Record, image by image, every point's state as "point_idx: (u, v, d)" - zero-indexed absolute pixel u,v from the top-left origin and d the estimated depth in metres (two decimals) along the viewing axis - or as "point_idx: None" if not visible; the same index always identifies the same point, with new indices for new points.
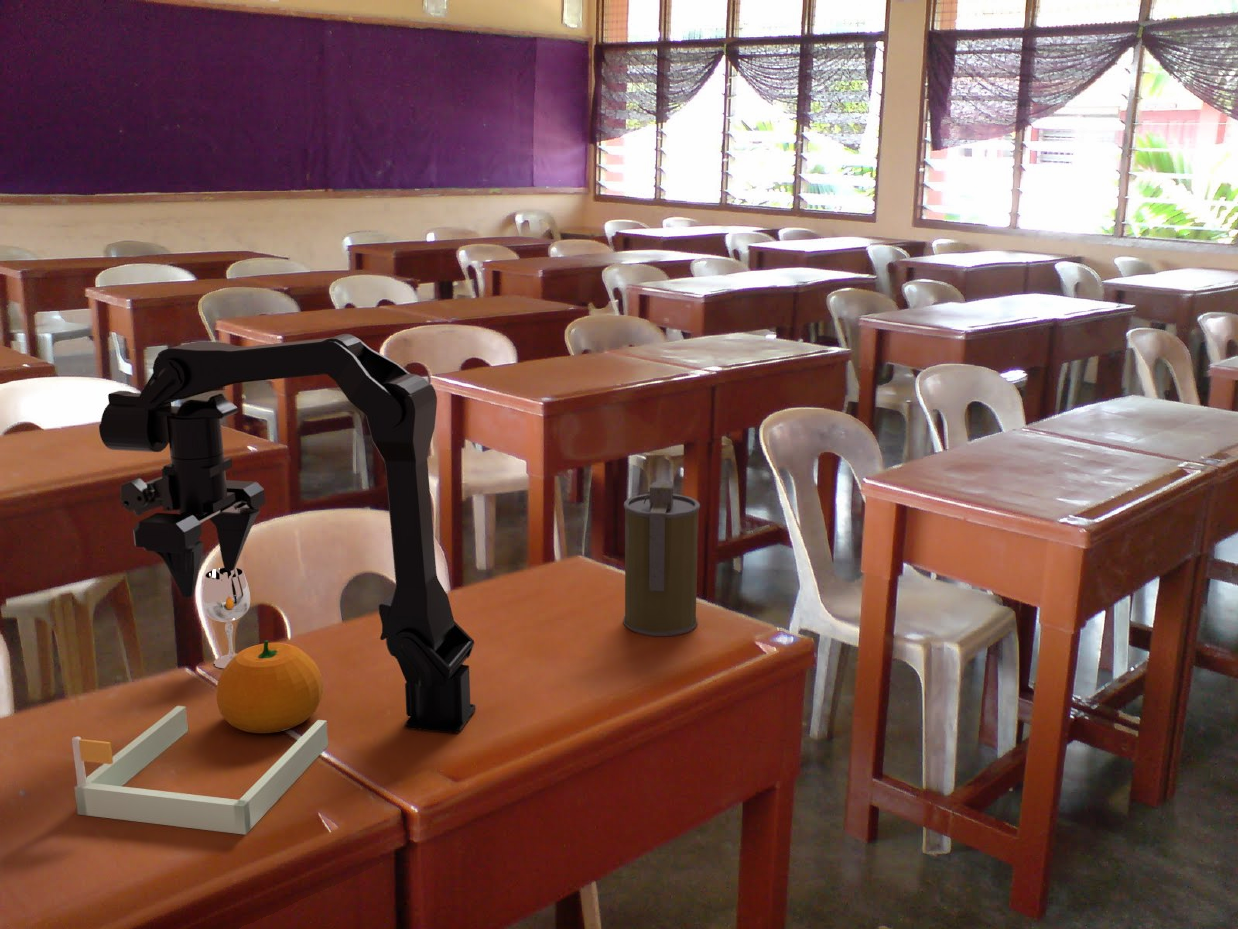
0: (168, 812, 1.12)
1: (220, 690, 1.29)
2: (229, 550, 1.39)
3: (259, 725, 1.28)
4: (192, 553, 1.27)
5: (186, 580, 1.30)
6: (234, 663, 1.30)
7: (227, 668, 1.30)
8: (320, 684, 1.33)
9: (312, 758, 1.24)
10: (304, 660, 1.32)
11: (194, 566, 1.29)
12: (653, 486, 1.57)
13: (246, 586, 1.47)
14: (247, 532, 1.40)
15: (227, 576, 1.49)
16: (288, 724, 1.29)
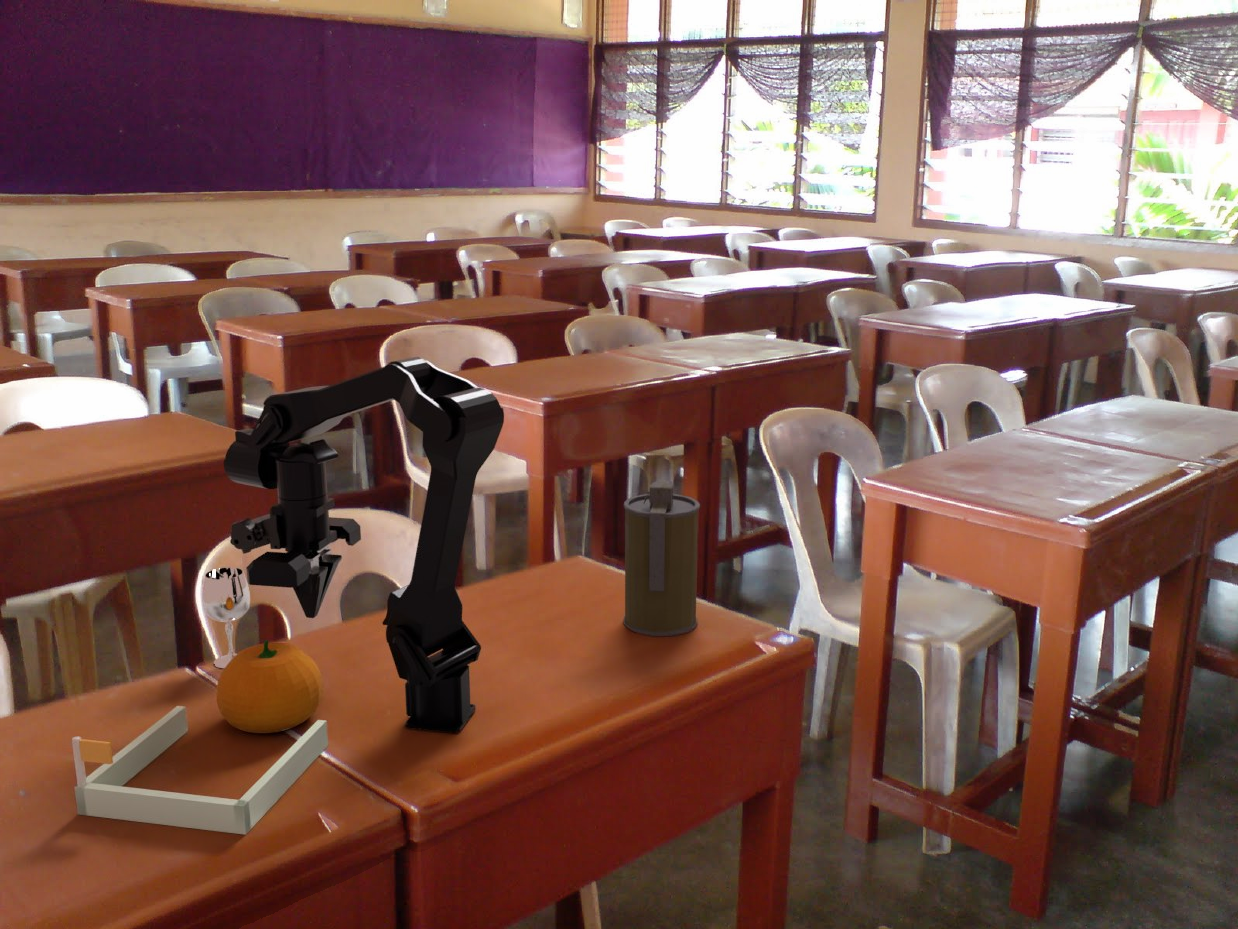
0: (168, 812, 1.12)
1: (220, 690, 1.29)
2: None
3: (259, 724, 1.28)
4: (318, 577, 1.38)
5: (311, 602, 1.40)
6: (234, 663, 1.30)
7: (227, 668, 1.30)
8: (320, 684, 1.33)
9: (312, 758, 1.24)
10: (304, 660, 1.32)
11: (319, 589, 1.39)
12: (653, 486, 1.57)
13: (246, 586, 1.47)
14: (330, 579, 1.42)
15: (227, 576, 1.49)
16: (288, 724, 1.29)
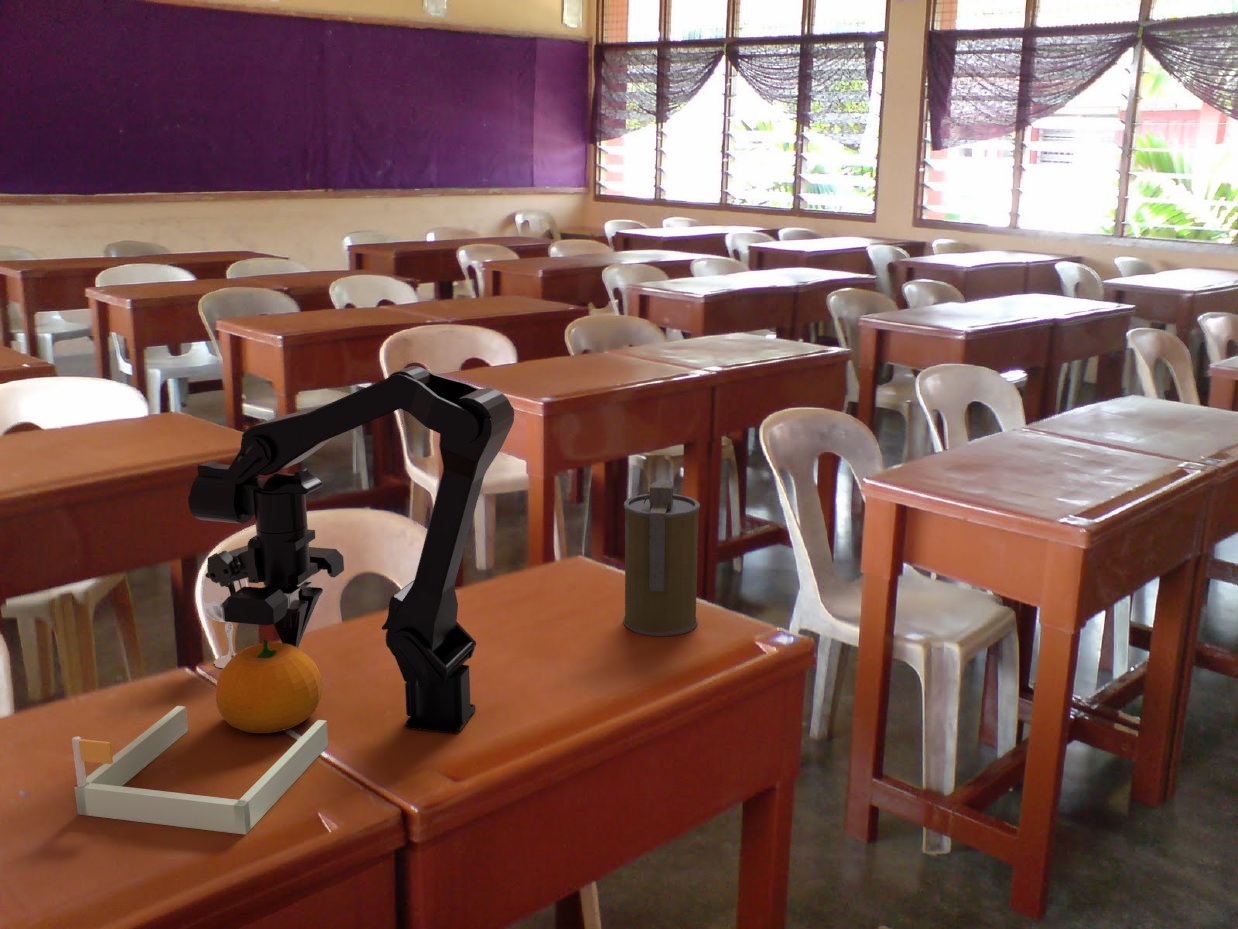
0: (168, 812, 1.12)
1: (220, 690, 1.29)
2: None
3: (259, 724, 1.28)
4: (298, 612, 1.33)
5: (290, 637, 1.36)
6: (233, 663, 1.30)
7: (226, 668, 1.30)
8: (319, 684, 1.33)
9: (312, 758, 1.24)
10: (303, 660, 1.32)
11: (299, 624, 1.35)
12: (653, 486, 1.57)
13: (246, 586, 1.47)
14: (310, 613, 1.37)
15: None
16: (288, 723, 1.29)
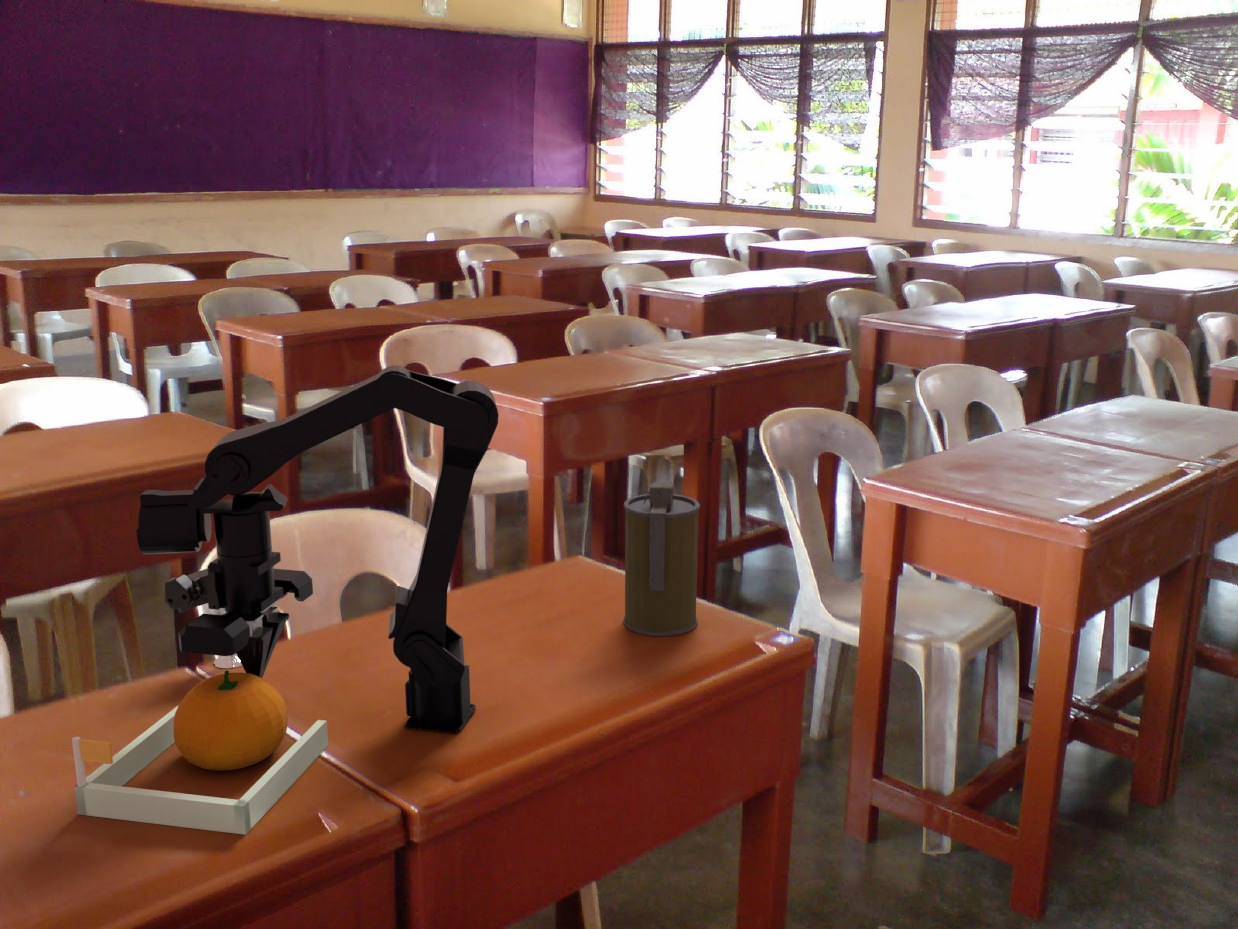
0: (168, 812, 1.12)
1: (177, 725, 1.21)
2: None
3: (219, 762, 1.20)
4: (261, 641, 1.25)
5: (254, 666, 1.28)
6: (192, 695, 1.22)
7: (184, 701, 1.22)
8: (284, 717, 1.25)
9: (312, 758, 1.24)
10: (267, 692, 1.24)
11: (263, 653, 1.27)
12: (653, 486, 1.57)
13: None
14: (275, 640, 1.29)
15: None
16: (250, 760, 1.21)
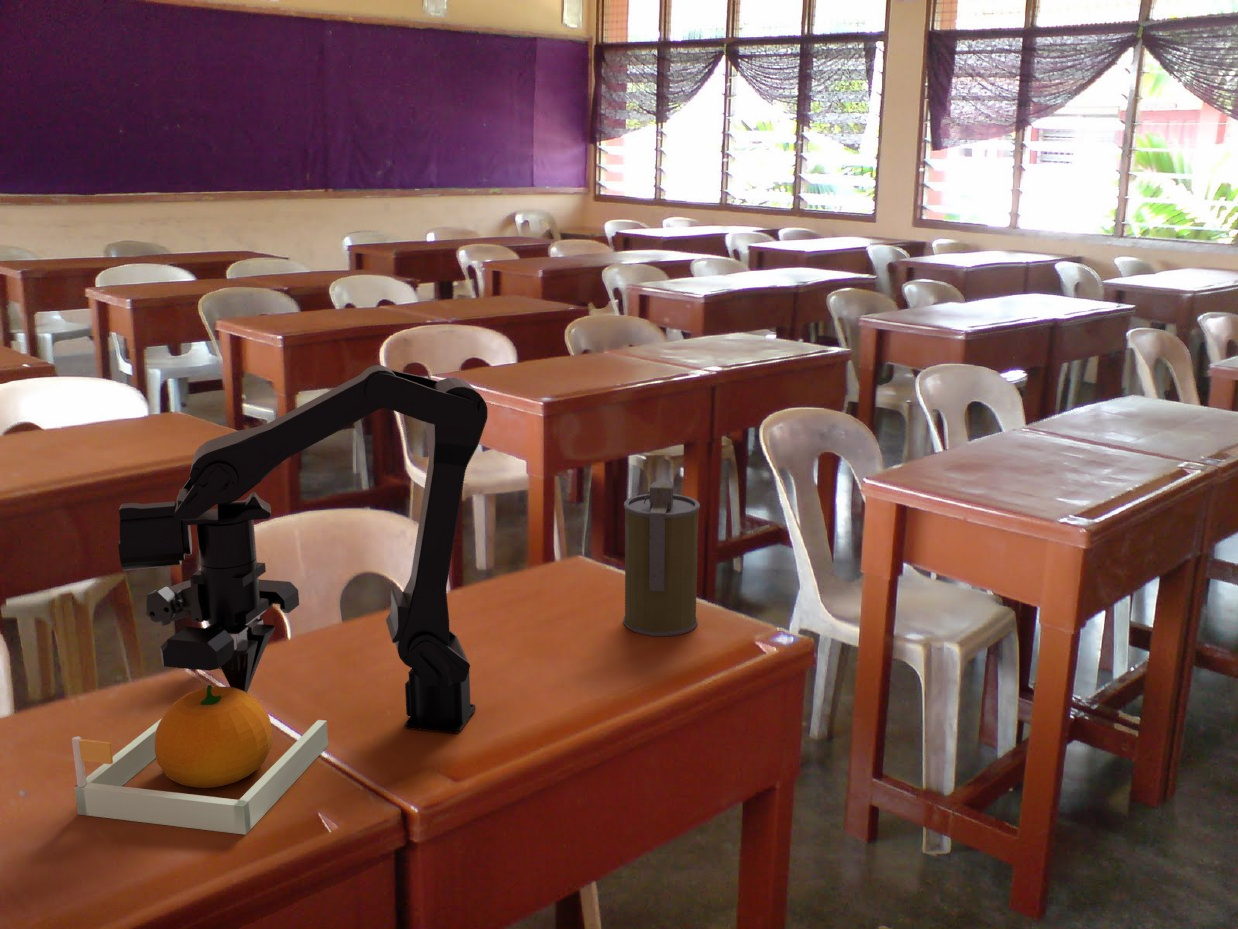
0: (168, 812, 1.12)
1: (158, 741, 1.18)
2: None
3: (201, 779, 1.16)
4: (246, 654, 1.22)
5: (239, 680, 1.25)
6: (173, 711, 1.18)
7: (166, 716, 1.19)
8: (269, 732, 1.21)
9: (312, 758, 1.24)
10: (251, 707, 1.20)
11: (248, 666, 1.23)
12: (653, 486, 1.57)
13: None
14: (261, 653, 1.26)
15: None
16: (233, 777, 1.18)
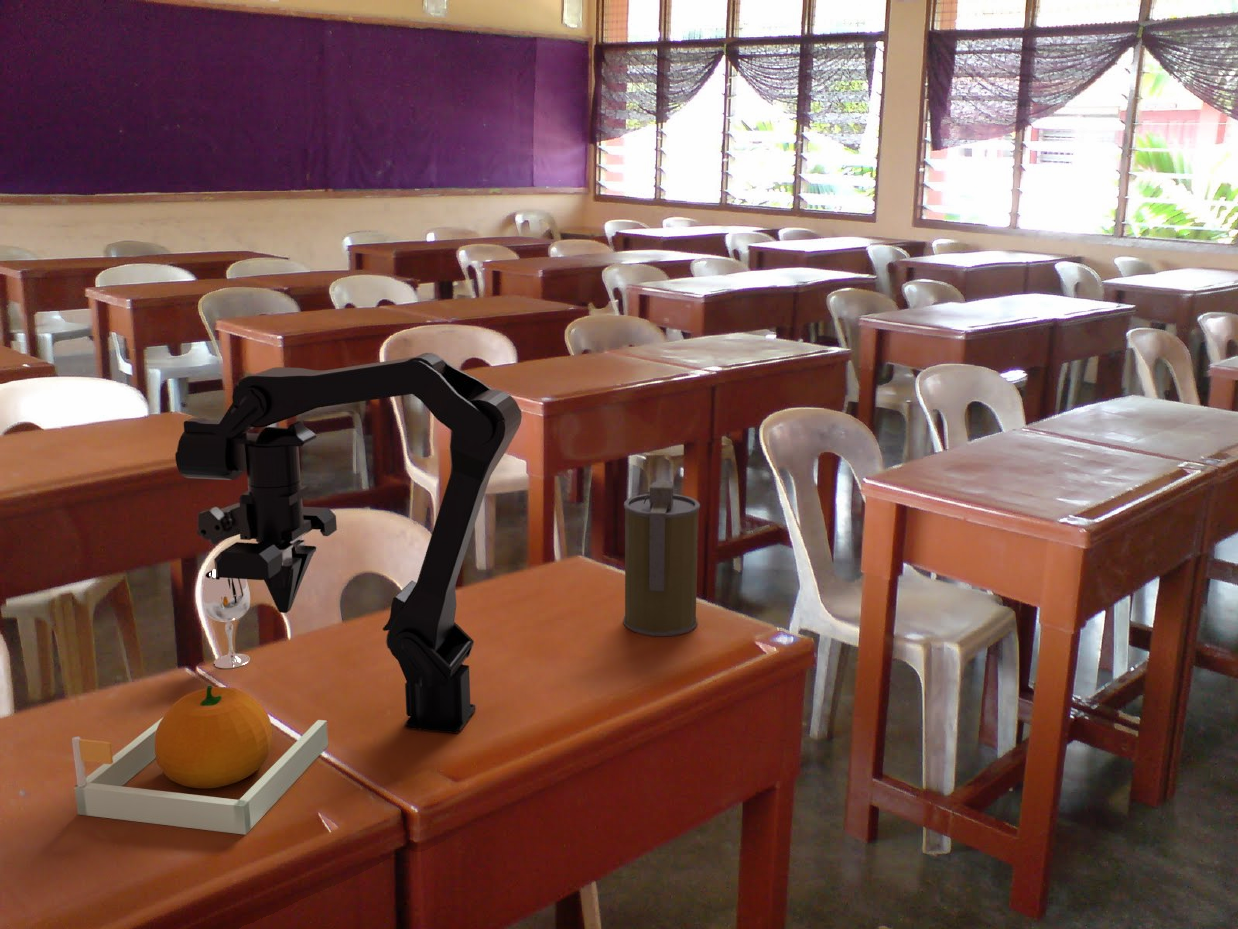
0: (168, 812, 1.12)
1: (158, 742, 1.18)
2: None
3: (201, 780, 1.16)
4: (292, 570, 1.30)
5: (283, 596, 1.32)
6: (173, 711, 1.18)
7: (166, 717, 1.19)
8: (269, 733, 1.21)
9: (312, 758, 1.24)
10: (251, 707, 1.20)
11: (292, 582, 1.31)
12: (653, 486, 1.57)
13: (246, 586, 1.47)
14: (304, 571, 1.34)
15: None
16: (233, 778, 1.18)
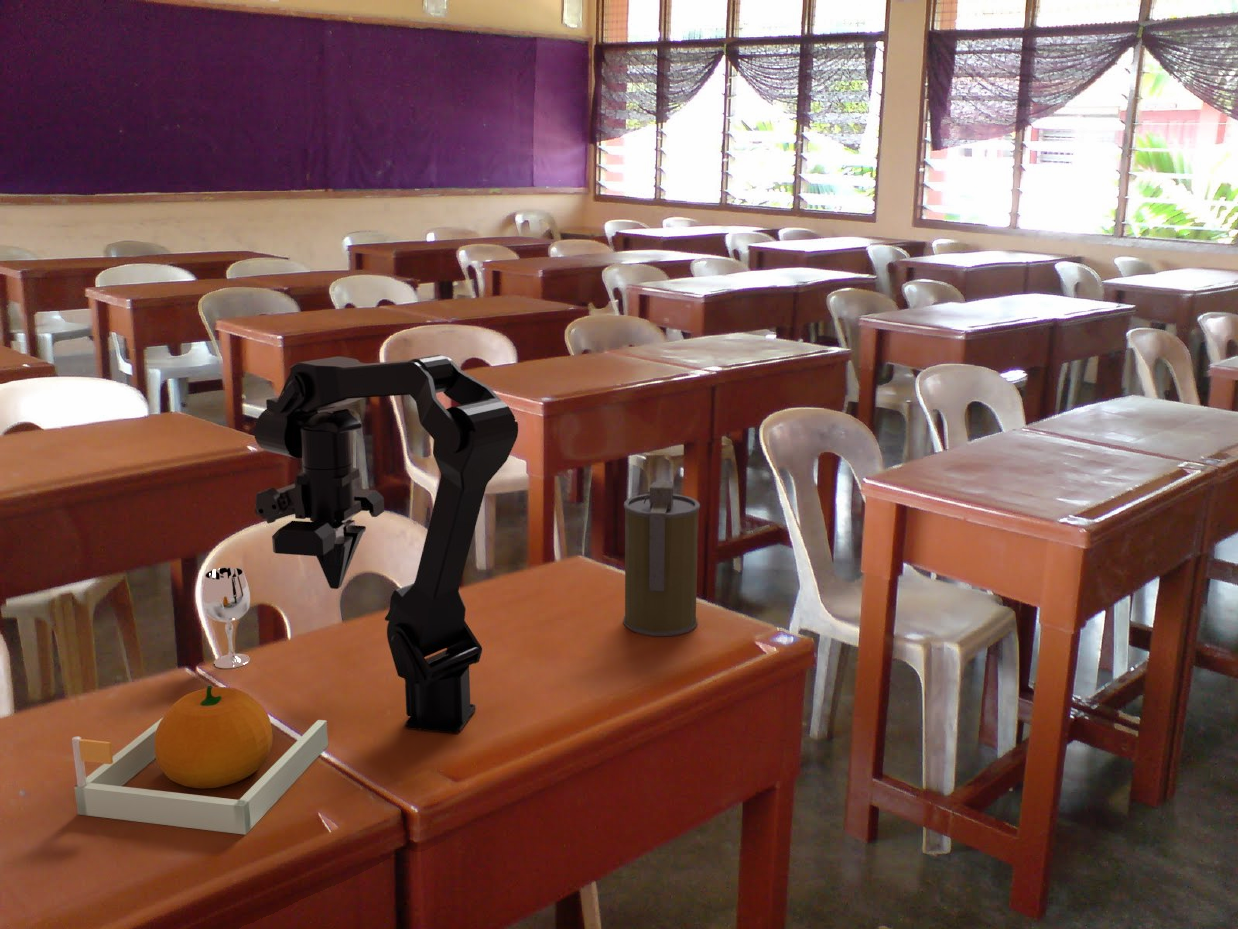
0: (168, 812, 1.12)
1: (158, 742, 1.18)
2: None
3: (201, 780, 1.16)
4: (343, 547, 1.37)
5: (335, 573, 1.40)
6: (173, 711, 1.18)
7: (166, 717, 1.19)
8: (269, 733, 1.21)
9: (312, 758, 1.24)
10: (251, 707, 1.20)
11: (344, 559, 1.39)
12: (653, 486, 1.57)
13: (246, 586, 1.47)
14: (354, 550, 1.41)
15: (227, 576, 1.49)
16: (233, 778, 1.18)
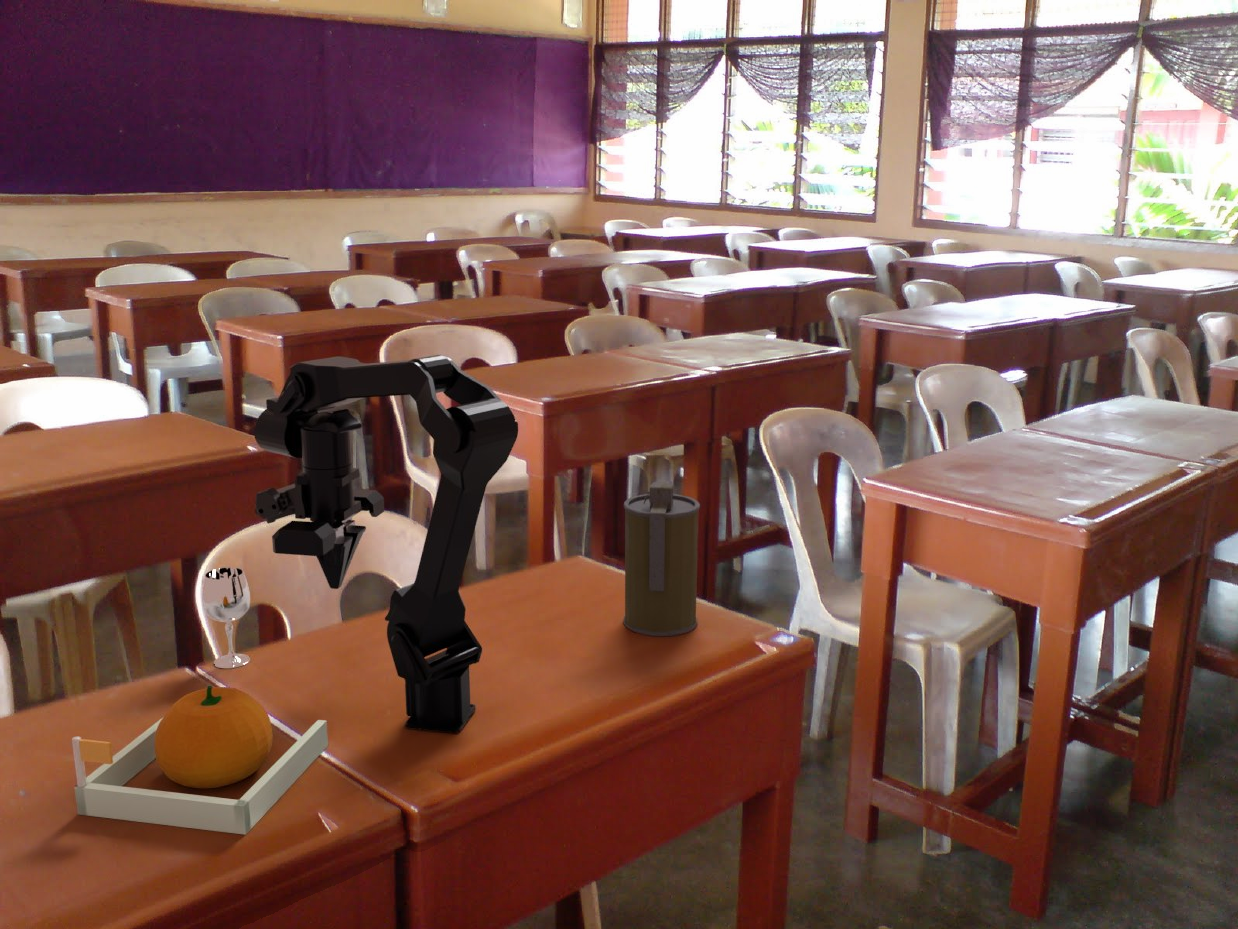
0: (168, 812, 1.12)
1: (158, 741, 1.18)
2: None
3: (201, 780, 1.16)
4: (343, 547, 1.37)
5: (335, 573, 1.40)
6: (174, 711, 1.18)
7: (166, 717, 1.19)
8: (269, 733, 1.21)
9: (312, 758, 1.24)
10: (251, 707, 1.20)
11: (344, 559, 1.39)
12: (653, 486, 1.57)
13: (246, 586, 1.47)
14: (354, 550, 1.41)
15: (227, 576, 1.49)
16: (233, 778, 1.18)
